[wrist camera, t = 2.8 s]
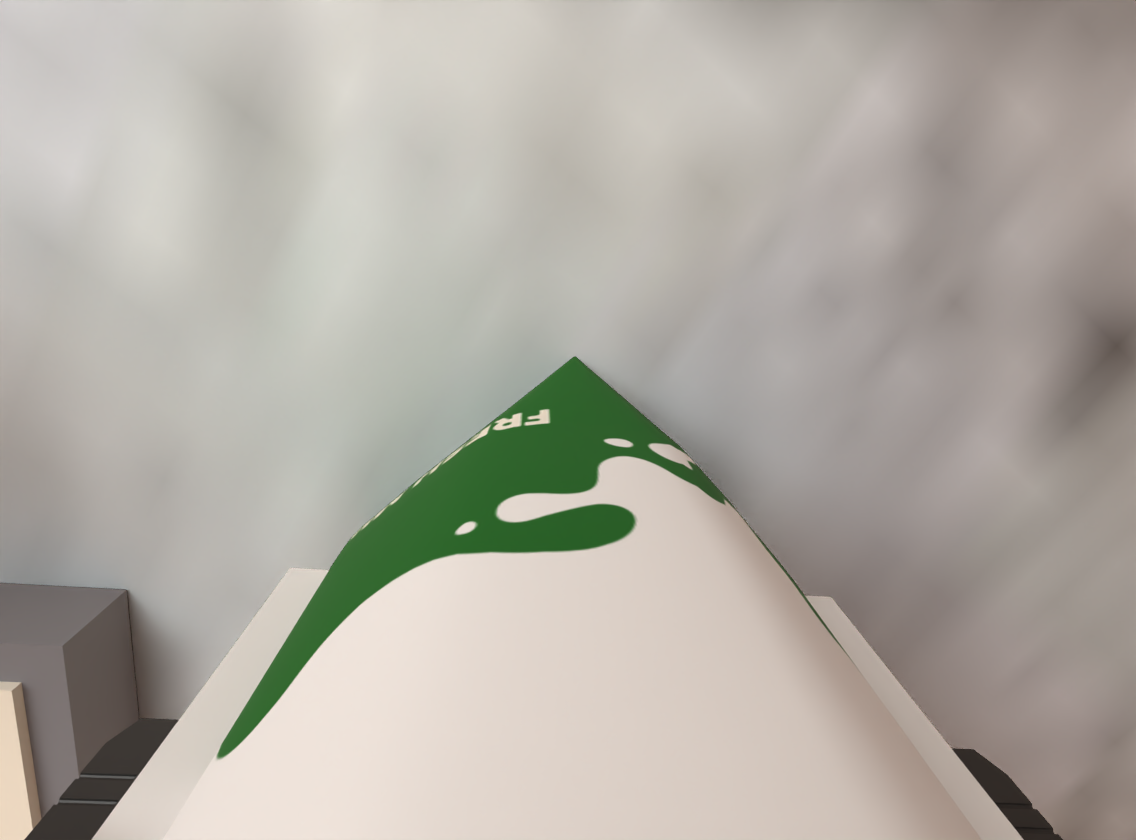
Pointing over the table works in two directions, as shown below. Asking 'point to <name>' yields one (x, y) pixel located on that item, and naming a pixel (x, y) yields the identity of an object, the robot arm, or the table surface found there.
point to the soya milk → (564, 666)
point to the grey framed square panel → (58, 692)
